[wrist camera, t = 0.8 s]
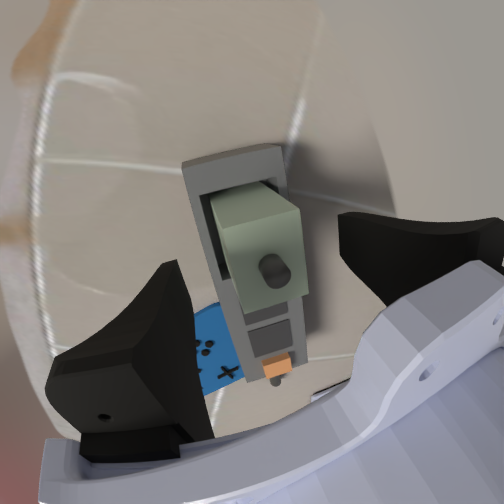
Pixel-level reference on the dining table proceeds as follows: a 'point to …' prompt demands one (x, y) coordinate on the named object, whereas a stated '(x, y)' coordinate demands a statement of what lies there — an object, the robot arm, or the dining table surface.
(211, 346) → the handheld gaming device
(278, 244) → the charger
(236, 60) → the dining table surface
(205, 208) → the power strip
